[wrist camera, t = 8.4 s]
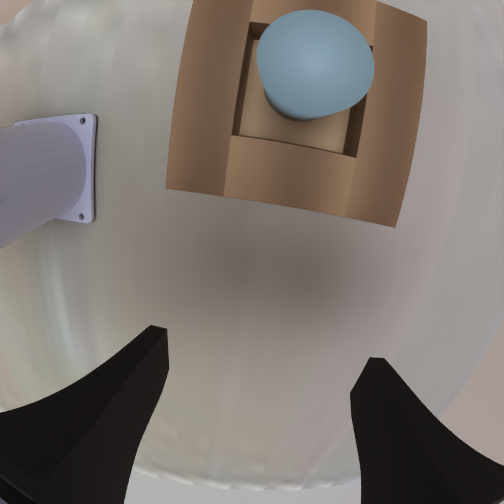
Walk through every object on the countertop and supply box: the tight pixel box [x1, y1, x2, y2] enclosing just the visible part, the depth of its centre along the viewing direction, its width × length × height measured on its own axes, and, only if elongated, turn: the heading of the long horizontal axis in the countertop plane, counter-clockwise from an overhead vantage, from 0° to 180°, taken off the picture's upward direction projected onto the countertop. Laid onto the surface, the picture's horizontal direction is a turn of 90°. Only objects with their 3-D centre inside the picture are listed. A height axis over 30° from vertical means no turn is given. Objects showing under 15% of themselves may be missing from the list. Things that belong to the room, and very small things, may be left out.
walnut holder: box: [166, 0, 427, 228], centre depth 13 cm, size 12×12×4 cm
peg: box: [257, 10, 375, 122], centre depth 11 cm, size 4×4×7 cm
